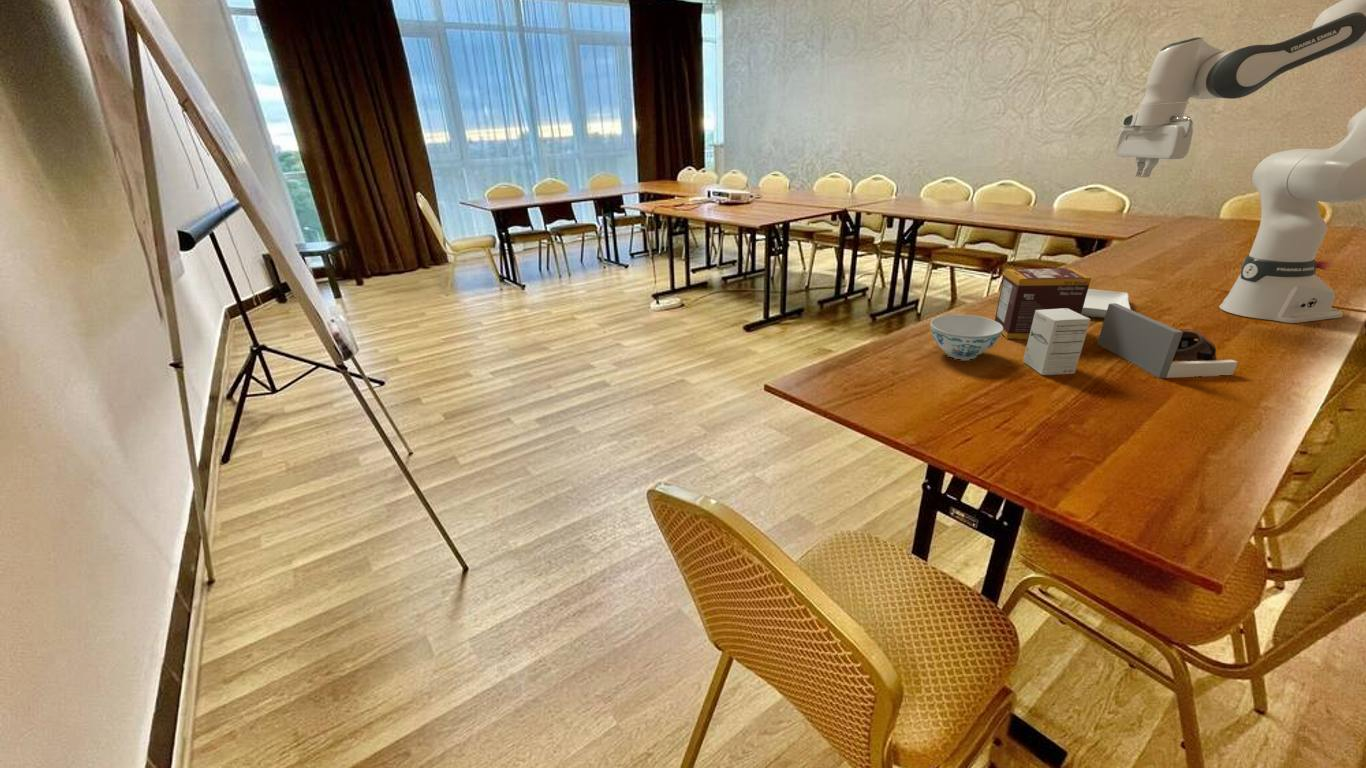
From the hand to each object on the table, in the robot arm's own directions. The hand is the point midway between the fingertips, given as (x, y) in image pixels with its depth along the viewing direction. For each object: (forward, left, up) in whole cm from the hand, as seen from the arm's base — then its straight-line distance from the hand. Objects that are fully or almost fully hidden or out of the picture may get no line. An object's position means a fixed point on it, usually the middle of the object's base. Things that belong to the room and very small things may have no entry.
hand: (1141, 176), depth 134 cm
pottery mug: (+10, +41, -35) cm, 54 cm away
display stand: (+13, +39, -34) cm, 53 cm away
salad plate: (+8, +2, -35) cm, 36 cm away
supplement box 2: (+38, +42, -34) cm, 66 cm away
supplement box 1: (+30, +20, -34) cm, 50 cm away
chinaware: (+53, +33, -34) cm, 71 cm away
